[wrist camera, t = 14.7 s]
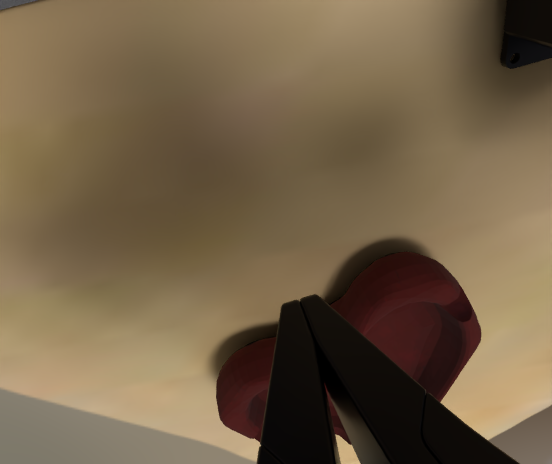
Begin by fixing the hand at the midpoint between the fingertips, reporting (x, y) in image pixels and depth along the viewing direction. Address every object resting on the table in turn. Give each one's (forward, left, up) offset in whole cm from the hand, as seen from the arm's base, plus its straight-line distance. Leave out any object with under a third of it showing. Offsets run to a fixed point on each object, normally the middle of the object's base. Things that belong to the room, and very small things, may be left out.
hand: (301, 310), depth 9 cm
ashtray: (-4, +20, -14) cm, 24 cm away
